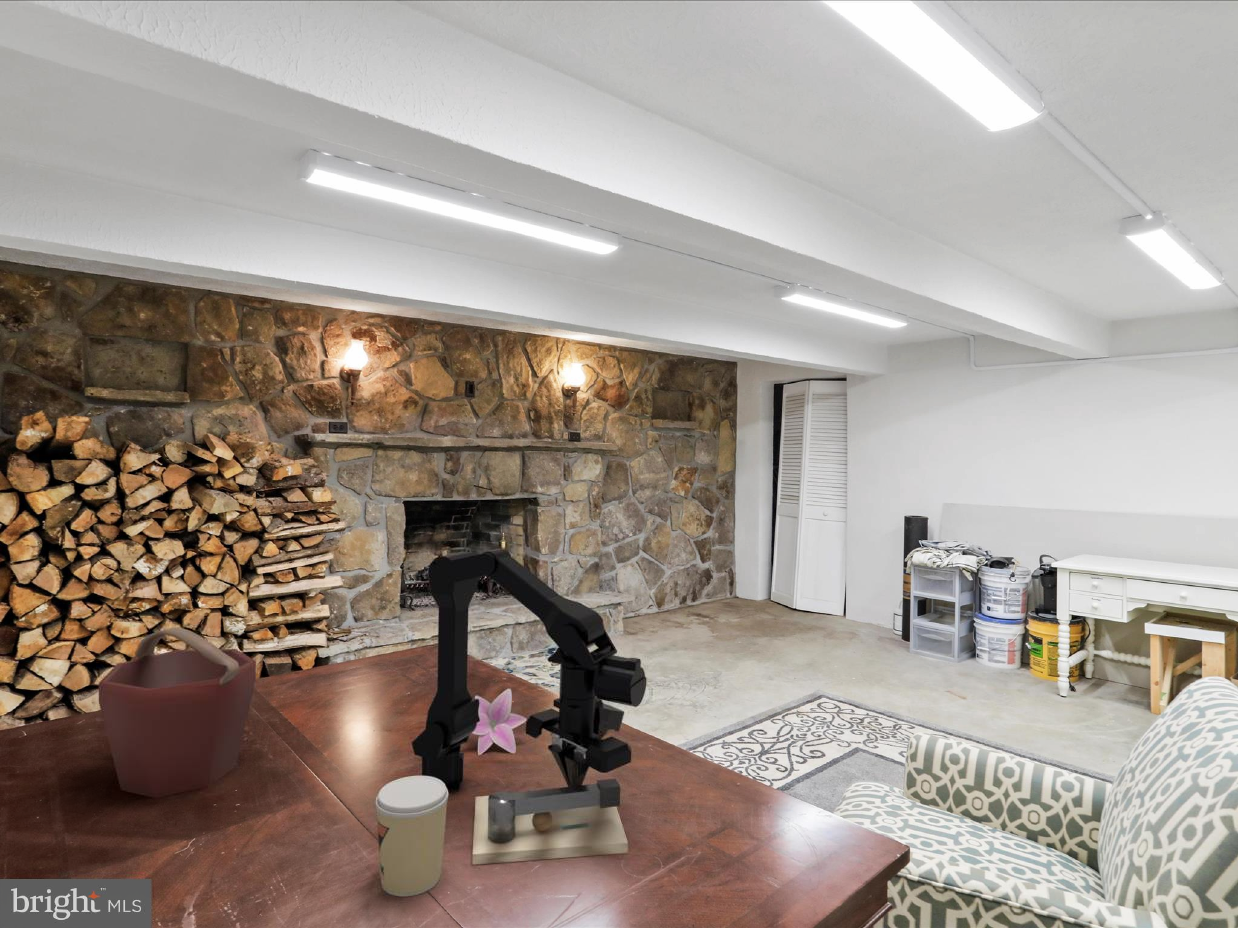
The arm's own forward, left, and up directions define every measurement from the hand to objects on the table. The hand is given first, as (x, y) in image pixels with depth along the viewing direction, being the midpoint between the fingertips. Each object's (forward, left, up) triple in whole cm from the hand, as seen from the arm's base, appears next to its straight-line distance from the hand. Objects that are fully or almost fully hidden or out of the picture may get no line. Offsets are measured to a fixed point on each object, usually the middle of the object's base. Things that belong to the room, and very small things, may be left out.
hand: (574, 792), depth 110 cm
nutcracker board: (-4, -1, -5) cm, 6 cm away
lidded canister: (-23, -11, -5) cm, 26 cm away
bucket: (-66, +24, -5) cm, 71 cm away
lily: (-13, +29, -5) cm, 32 cm away
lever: (-3, -4, -3) cm, 6 cm away
